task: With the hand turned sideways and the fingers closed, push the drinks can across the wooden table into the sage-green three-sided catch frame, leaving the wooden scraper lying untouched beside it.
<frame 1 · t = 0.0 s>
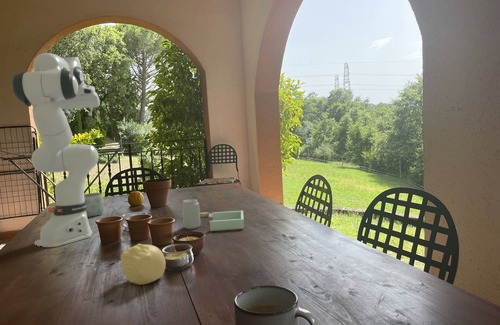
hand: (80, 116, 199), 52 cm above the table, tool tilted 20°, fingers open, 8 cm apart
pomelo: (145, 280, 114), on the table
planter: (92, 215, 208), on the table
catch frame: (226, 224, 170), on the table
scraper: (196, 217, 189), on the table
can: (192, 227, 170), on the table
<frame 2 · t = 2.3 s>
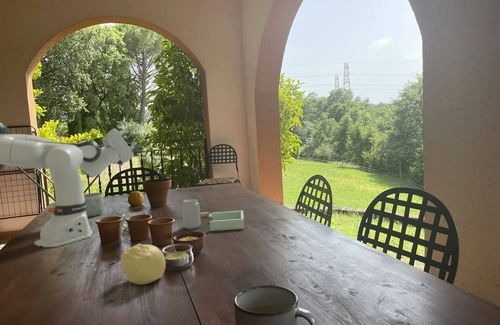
hand: (131, 136, 205), 40 cm above the table, tool pointing upward, fingers open, 8 cm apart
nothing on the table moved.
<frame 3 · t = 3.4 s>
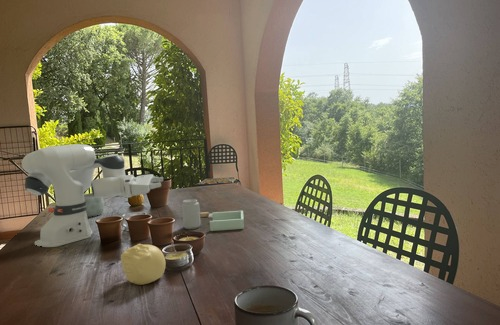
hand: (162, 181, 172), 20 cm above the table, tool horizontal, fingers open, 8 cm apart
nothing on the table moved.
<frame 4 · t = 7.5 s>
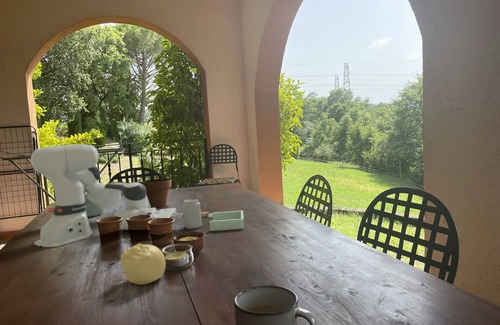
hand: (183, 216, 170), 5 cm above the table, tool horizontal, fingers closed, pressing on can
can: (193, 227, 170), on the table, touching gripper
everything else where it was.
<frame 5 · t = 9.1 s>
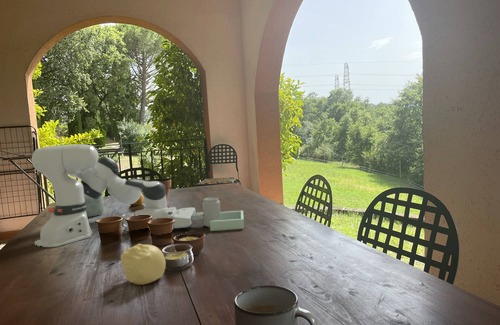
hand: (203, 215, 171), 5 cm above the table, tool horizontal, fingers closed, pressing on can
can: (212, 225, 171), on the table, touching gripper
everything else where it was.
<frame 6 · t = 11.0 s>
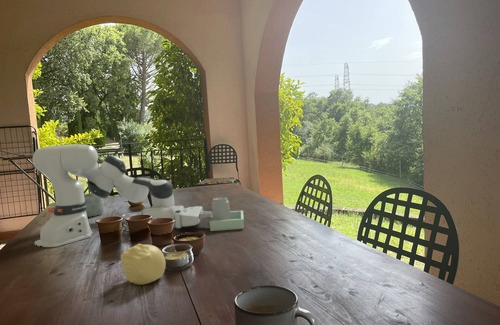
hand: (211, 214, 170), 5 cm above the table, tool horizontal, fingers closed
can: (222, 225, 170), on the table
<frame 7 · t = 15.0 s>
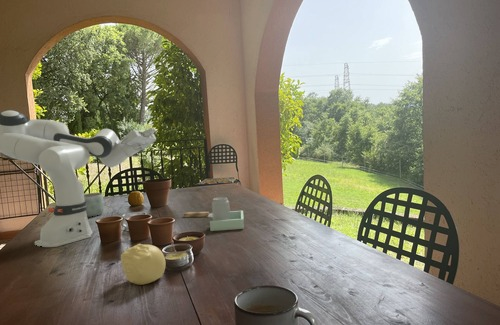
hand: (153, 129, 186), 43 cm above the table, tool pointing upward, fingers closed
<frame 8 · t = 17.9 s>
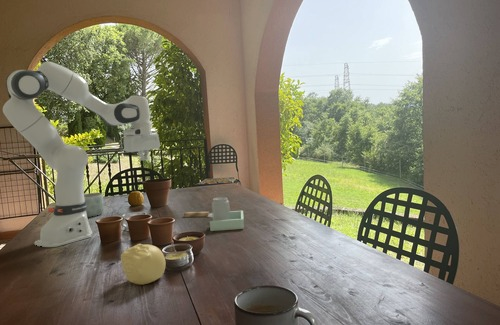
hand: (144, 160, 184), 29 cm above the table, tool pointing down, fingers closed
at the end: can 2.0 cm from the catch frame (horizontally); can tilted 0°; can moved 13.0 cm from its start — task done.
